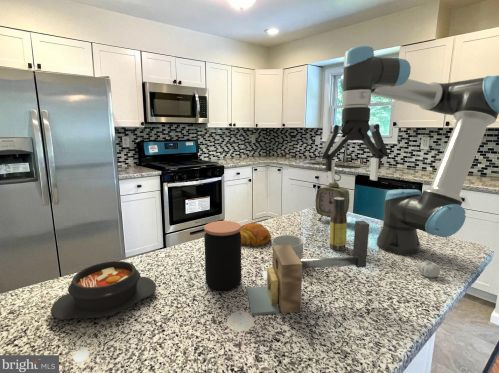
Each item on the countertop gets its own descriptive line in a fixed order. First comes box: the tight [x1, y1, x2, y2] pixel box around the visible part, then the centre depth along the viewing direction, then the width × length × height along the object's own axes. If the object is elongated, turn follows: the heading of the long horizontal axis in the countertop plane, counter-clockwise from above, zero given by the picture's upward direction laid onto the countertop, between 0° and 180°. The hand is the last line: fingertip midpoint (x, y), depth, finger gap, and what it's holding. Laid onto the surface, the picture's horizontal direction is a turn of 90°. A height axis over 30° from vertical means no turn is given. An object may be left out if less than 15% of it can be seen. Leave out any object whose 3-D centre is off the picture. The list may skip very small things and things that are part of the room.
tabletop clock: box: [315, 172, 350, 221], centre depth 143 cm, size 14×9×25 cm, turn 50°
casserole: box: [50, 260, 157, 321], centre depth 77 cm, size 25×19×8 cm
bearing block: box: [271, 245, 303, 314], centre depth 78 cm, size 5×12×13 cm, turn 7°
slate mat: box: [246, 285, 280, 316], centre depth 78 cm, size 7×12×1 cm, turn 7°
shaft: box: [300, 220, 370, 270], centre depth 77 cm, size 20×3×12 cm, turn 97°
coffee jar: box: [203, 220, 242, 293], centre depth 85 cm, size 11×11×18 cm
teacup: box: [271, 233, 304, 259], centre depth 102 cm, size 14×11×8 cm
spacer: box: [266, 267, 278, 306], centre depth 78 cm, size 2×7×7 cm, turn 7°
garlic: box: [417, 260, 441, 278], centre depth 91 cm, size 6×5×5 cm
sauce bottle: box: [329, 197, 348, 251], centre depth 111 cm, size 6×6×20 cm
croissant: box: [240, 222, 272, 247], centre depth 120 cm, size 14×16×8 cm
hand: (352, 181), depth 86 cm, fingers open, 13 cm apart
